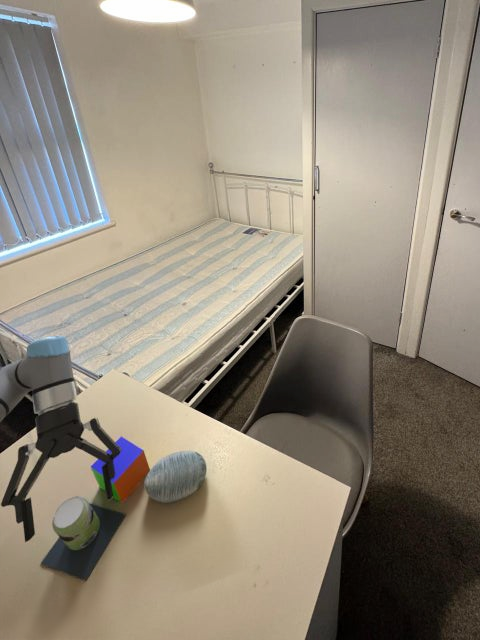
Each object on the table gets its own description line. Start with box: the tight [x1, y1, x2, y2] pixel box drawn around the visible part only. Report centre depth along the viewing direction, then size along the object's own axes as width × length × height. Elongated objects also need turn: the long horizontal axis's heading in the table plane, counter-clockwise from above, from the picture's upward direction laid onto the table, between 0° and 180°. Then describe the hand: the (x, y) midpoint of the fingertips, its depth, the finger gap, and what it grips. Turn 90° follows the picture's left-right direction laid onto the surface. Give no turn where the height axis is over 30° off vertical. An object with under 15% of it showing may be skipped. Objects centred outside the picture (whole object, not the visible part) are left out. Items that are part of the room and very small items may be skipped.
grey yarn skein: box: [144, 450, 208, 504], centre depth 76 cm, size 14×10×10 cm
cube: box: [90, 436, 151, 504], centre depth 77 cm, size 8×8×8 cm
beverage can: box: [52, 495, 100, 550], centre depth 66 cm, size 6×7×12 cm
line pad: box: [40, 502, 127, 581], centre depth 68 cm, size 11×11×1 cm
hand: (72, 517), depth 65 cm, fingers open, 13 cm apart
